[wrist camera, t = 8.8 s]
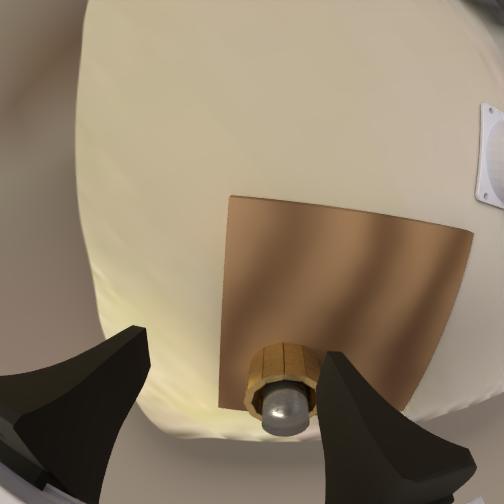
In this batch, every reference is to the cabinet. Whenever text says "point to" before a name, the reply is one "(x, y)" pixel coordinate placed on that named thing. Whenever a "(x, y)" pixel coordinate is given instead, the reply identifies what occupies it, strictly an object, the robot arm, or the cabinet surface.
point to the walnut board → (336, 290)
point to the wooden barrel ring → (281, 373)
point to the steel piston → (285, 408)
